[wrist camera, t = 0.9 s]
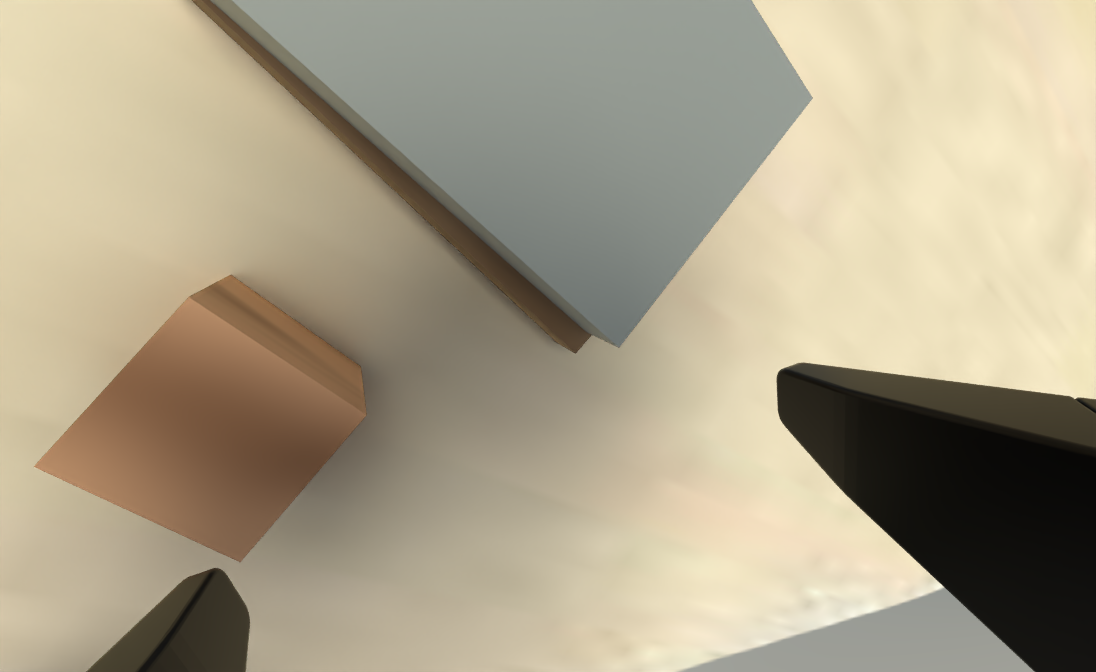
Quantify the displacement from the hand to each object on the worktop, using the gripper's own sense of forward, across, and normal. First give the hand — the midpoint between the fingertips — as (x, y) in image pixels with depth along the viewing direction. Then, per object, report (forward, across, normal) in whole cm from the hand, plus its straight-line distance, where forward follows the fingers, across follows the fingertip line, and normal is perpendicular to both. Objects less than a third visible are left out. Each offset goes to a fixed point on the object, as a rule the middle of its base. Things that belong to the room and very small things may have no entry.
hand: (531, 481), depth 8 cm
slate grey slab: (+12, -5, -7) cm, 14 cm away
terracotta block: (+11, +7, +1) cm, 14 cm away
